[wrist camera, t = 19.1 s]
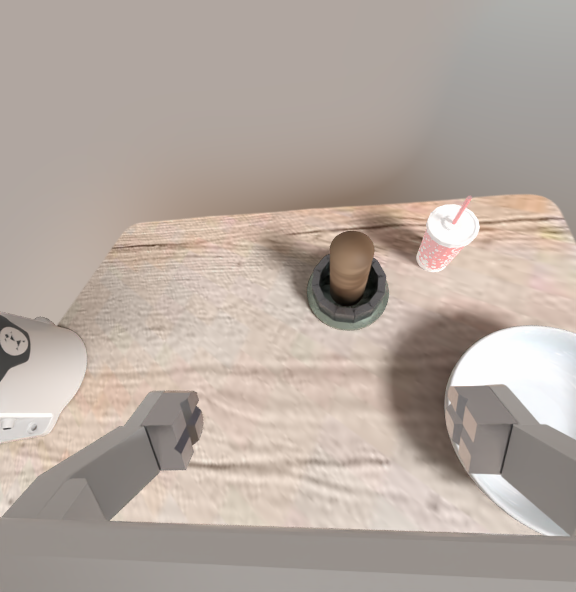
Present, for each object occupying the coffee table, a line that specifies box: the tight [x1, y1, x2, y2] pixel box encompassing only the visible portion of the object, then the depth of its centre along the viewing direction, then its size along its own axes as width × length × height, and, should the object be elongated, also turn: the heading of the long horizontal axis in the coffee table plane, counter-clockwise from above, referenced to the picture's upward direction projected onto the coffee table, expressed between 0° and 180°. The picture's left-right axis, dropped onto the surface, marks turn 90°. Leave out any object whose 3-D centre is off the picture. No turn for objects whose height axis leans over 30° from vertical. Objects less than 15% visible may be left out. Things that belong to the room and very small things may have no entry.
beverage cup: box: [416, 196, 480, 272], centre depth 41 cm, size 6×6×14 cm
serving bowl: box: [444, 325, 576, 536], centre depth 35 cm, size 21×21×7 cm
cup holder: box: [307, 254, 389, 331], centre depth 45 cm, size 12×12×4 cm
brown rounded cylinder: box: [330, 231, 374, 307], centre depth 41 cm, size 5×5×12 cm
